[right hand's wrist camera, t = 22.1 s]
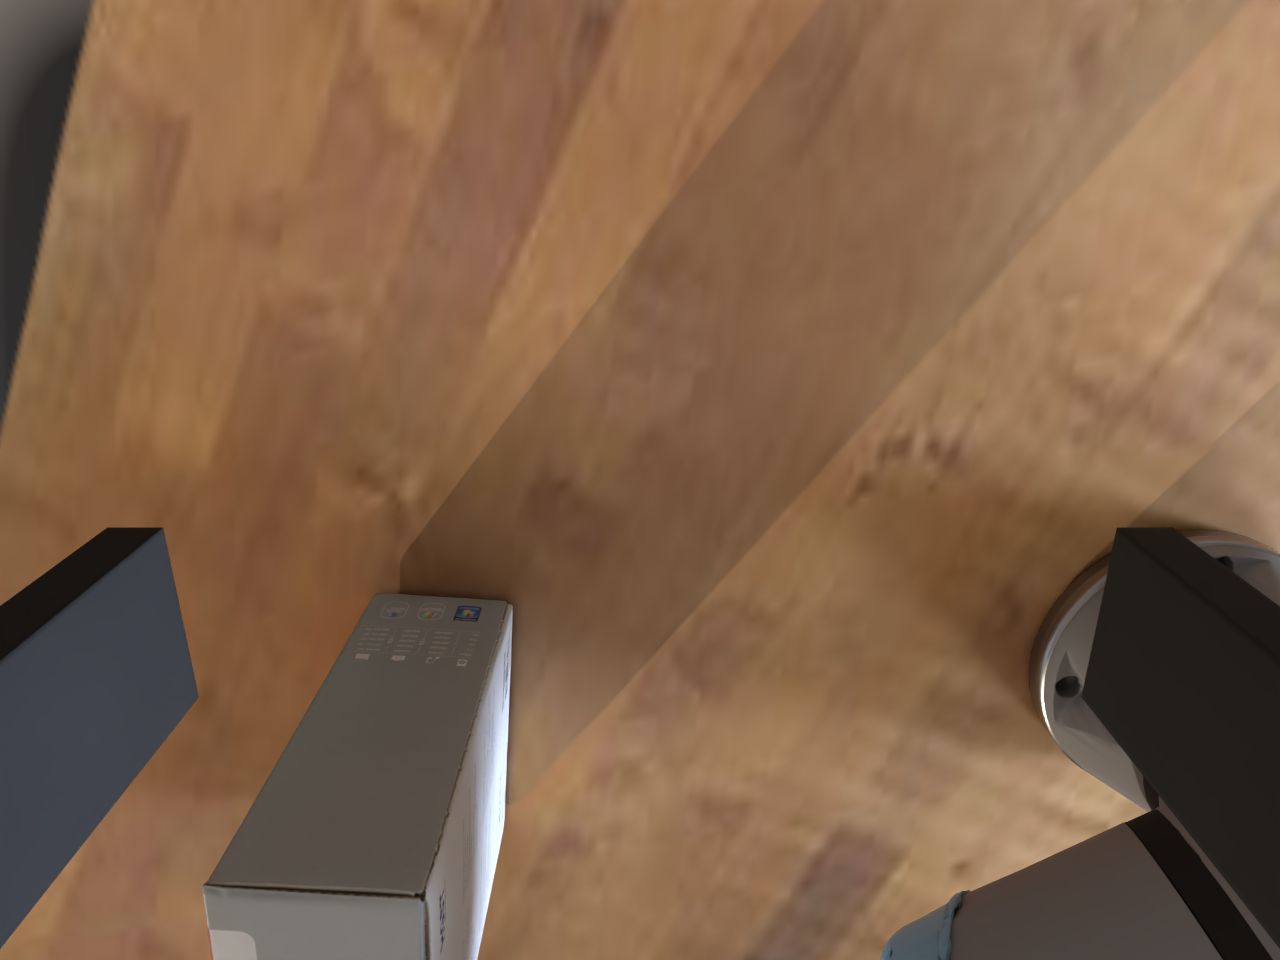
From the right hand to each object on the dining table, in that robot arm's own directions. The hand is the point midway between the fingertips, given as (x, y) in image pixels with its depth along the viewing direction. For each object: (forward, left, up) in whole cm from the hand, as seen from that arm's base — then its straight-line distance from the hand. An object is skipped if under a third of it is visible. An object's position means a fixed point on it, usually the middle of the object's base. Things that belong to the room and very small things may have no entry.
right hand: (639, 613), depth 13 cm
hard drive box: (-8, +25, -31) cm, 41 cm away
